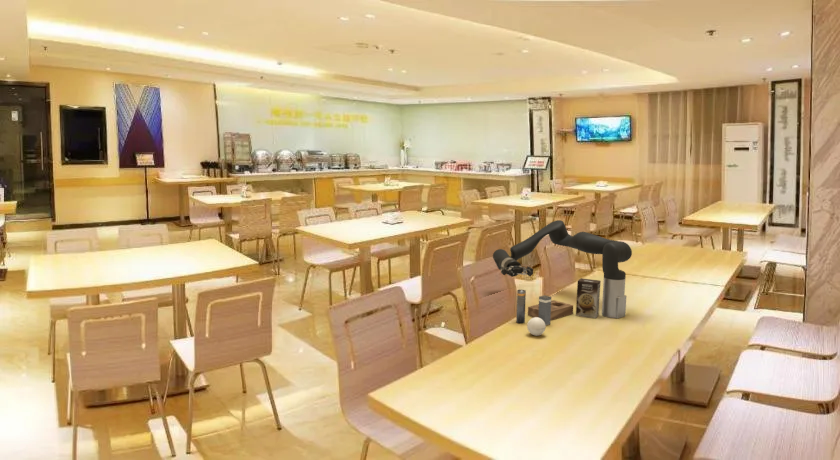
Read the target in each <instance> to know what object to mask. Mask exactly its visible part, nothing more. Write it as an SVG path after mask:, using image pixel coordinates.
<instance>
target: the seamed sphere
mask: <svg viewBox="0 0 840 460" xmlns="http://www.w3.org/2000/svg"><path fill="white" fill-rule="evenodd" d="M526 326H527V331H528V332H529V333H530V334H531V335H533V336H535V337H536V336H537V337H538V336H541V335H543V334H545V333H544V332H545V331H546V327H547V326H548V325H547V324H546V326H545V322H544V321H543V320H542V319H541V318H538V317H531V318H530V319H529V320H528V322H527V323H526Z"/></svg>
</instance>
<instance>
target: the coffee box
mask: <svg viewBox="0 0 840 460" xmlns="http://www.w3.org/2000/svg"><path fill="white" fill-rule="evenodd" d="M600 294H601V280H599V279H598V280H597V279H590V278H582V277H581V278H579V279H578V280H577V288H576V302H575V303H576V304H575V305H576V306H575V316H577V317H584V318H591V319H597V318H598V317H599V314H600V313H599V312H600V309H599V308H600V297H601V295H600Z"/></svg>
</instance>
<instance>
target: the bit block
mask: <svg viewBox="0 0 840 460" xmlns="http://www.w3.org/2000/svg"><path fill="white" fill-rule="evenodd" d="M573 314H574V304H571V303H566V302H562V301H558V300H555V299H551V319H550V321H553V320H557V319H560V318H563V317H568V316H571V315H573ZM538 315H539V303H537V304H534V305H530V306H527V317H528V316H529V317H531V318H534V317H538Z"/></svg>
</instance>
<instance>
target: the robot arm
mask: <svg viewBox="0 0 840 460" xmlns="http://www.w3.org/2000/svg"><path fill="white" fill-rule="evenodd" d="M547 236H548V237H549V239H550V241H551V242H552V243H553V244H554V245H557V246H563V247H566V248H572V249H575V250H577V251H580V252H583V253H586V254H592V255H602V257H601V258H602V260H601V261H602V266H601V267H602V268H601V270H602V273H603V281H602V282H603V283H602V284H603V285H602V286H603V287H602V301H601V303H602V305H601V315H602V316H603V317H606V318H614V319H621V318H624V317H626V309H627V295H626V294H625V292H626V278H627V277H626V275H627V274H626V272H625V271H624V270H622V269H619V263H624V262H625V263H626V262H627V261H629V260H630V259H631V257H632V254H633V251H632V248H631V247H630V245H629V244H628V243H626V242H625V241H621V240H612V239H608V238H605V237H602V236H599V235H597V234H593V233H591V232H588V231H587V232H586V231H580V232H577V233H576V234H574V235H571V234H569V232H568V229H567V226H566V225H565V222H564V221H563V220H560V219H559V220H558V219H557V220H554V221H552V222H550V223H548V224H546V225H545V226H544V227H542V228H541V229H539V230H538V231H536V232H535V233H534V234H532V235H530V236H529V237H527V238H526V239H523V241H520V242H519V243H517V244H515V245H513V246H511V247H510V255H509V253H508V252H507V251H506V250H505V249H502V248H501V249H500V248H499V249H496V250H495V251H494V252H493V253H492V258H493V262H494V263H495V265H496V267H497V269H498V270H499V271H500V273H501V275H503V276H506V275H507V276H509V277H511V278H512V277H517V276H519V275H523V276H525V275H527V276H529V277H532V276H533V275H534V268H532V267H531V266H526V267H525V266H522V264H521V263H520V262H519V261H518V260H520V259H521V258H524V257H526V256H527V255H529V254H531V253H532V252H533V251H534V249H536V248H537V245H538V244H539V243H540V242H541V241H542V239H543V238H545V237H547Z"/></svg>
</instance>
